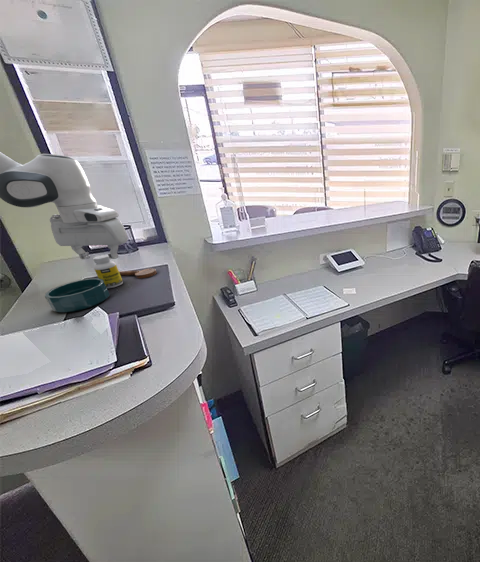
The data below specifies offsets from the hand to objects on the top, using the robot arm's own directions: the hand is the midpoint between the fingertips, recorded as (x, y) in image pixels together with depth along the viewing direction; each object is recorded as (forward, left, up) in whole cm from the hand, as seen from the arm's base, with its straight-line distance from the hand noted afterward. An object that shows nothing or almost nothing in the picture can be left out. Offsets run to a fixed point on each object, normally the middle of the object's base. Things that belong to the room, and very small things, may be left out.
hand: (100, 258), depth 95 cm
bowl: (+1, -12, -9) cm, 15 cm away
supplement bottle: (0, 0, -10) cm, 10 cm away
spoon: (-2, +8, -9) cm, 13 cm away
